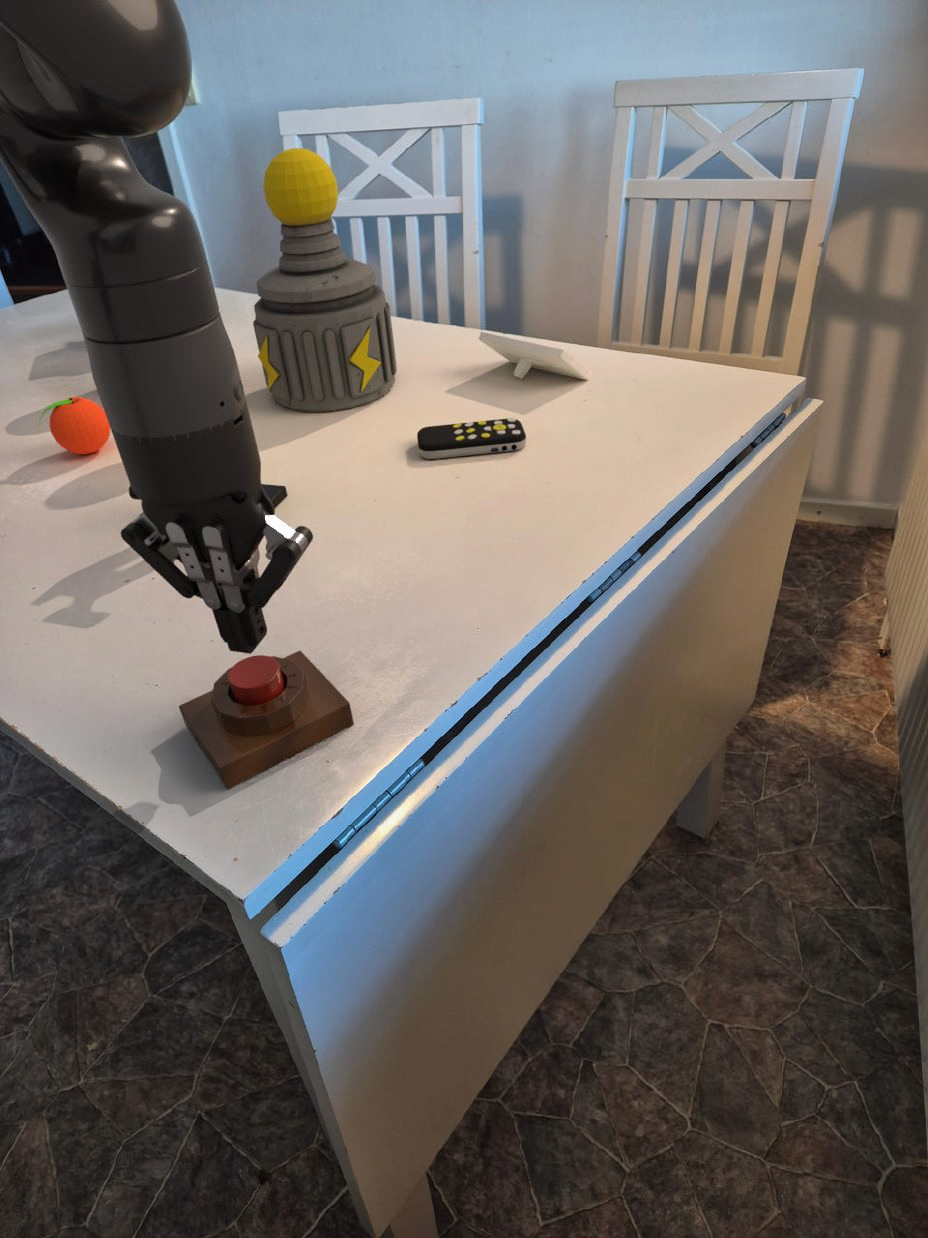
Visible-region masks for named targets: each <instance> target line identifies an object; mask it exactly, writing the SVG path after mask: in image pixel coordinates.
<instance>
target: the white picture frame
mask: <svg viewBox="0 0 928 1238" xmlns="http://www.w3.org/2000/svg"><path fill="white" fill-rule="evenodd" d="M478 340H479V341H480V342H482V343H483V344H484V345H486V346H487V347H489V348H490V349H492V350H493V351H495V353H497V354H498V355H500V356H502V358H505V359H506V360H507V361H508V362H510V363H514V364H517V365H516V367H515V369H514V371H513V375H514V376H515V377H516V378H517V379H520V380H523V379H524V378H525V376H526V375H527V373H528V372H529V370H530V369H531V368H536V369H539V370H543V371H547V372H551V373H556V374H560V375H564V376H568V377H572V378H575V379H580V380H585V381H590V380H591V378H592V376H593V375H592V374H593V373H592V371H590V370H589V369H588V368H587V367H586V366H584V365H583V364H582V363H580V361H578V360H577V359H575V358H574V357H573V356H572V355H570V353H569V352H567V351H565V350H564V349H561V348H558V347H557V348H556V347H552V346H549V345H543V344H538V343H534V342H529V341H524V340H522V339H521V340H520V339H515V338H511V337H506V336H502V335H499V334H498V335H497V334H494V333H493V334H492V333H488V332H484V331H480V333H479V336H478Z"/></svg>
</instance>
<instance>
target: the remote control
mask: <svg viewBox="0 0 928 1238" xmlns="http://www.w3.org/2000/svg"><path fill="white" fill-rule="evenodd" d="M416 435H417V436H416V440H417V446H418V453H419V455H420V456H421V457H422V458H423V459H426V460H437V459H446V458H456V457H467V456H475V455H485V454H487V455H488V454H496V453H504V452H515V451H519V450H522V449H523V448H525V446H526V444H527V435H526V432H525V430H524V427H523V424H522V422H521V421H520V420H518V419H517V418H515V417H508V418H501V419H499V418H498V419H490V420H480V421H469V422H459V423H450V424H440V425H432V426H425V427H422V428H420V429H418V431H417V434H416Z"/></svg>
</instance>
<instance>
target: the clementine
mask: <svg viewBox="0 0 928 1238" xmlns="http://www.w3.org/2000/svg"><path fill="white" fill-rule="evenodd" d="M51 409H52V412H51V414H50V416H49V430H50V433H51V435H52V437H53V438H54V440H55V442H56V443H57V444H58V445H59V446H60V447H61V448H63V449H65V450H66V451H68V452H69V453H73V454H77V455H89V454H92V453H95V452H97V451H100V450H101V449H102V448H103V447H104V446H105V445H106V444H107V442H108V440H109V438H110V435H111V428H110V425H109V422H108V419H107V417H106V414H105V411H104V408H103V407H101V406H100V405H99V404H98V403H96V402H95V401H93V400H91V399H88V398H85V397H81V396H75V397H69V398H65V399H63V400H59V401H57V402H54V403H52V404H50V405H49V406H48V407H47V408H46V409H44V410H43V412H42V413H41V415H40V418H39V420H41V419H42V417H44V415H45V414H46V413H47V412H48V411H50V410H51ZM40 425H41V422H39V423H38V427H39V428H40V427H41V426H40Z"/></svg>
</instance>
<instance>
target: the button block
mask: <svg viewBox="0 0 928 1238" xmlns="http://www.w3.org/2000/svg"><path fill="white" fill-rule="evenodd" d="M269 657H272V658H274V659H275V660H276V661H277V662H278V663H279V666H280V670H281V674H282V677H283V681H284V688H283V691H282V692H281V694H280V695H279V696H278V697H277V698H275V699H273V700H271V701H269V702H266V703H264V704H260V705H251V706H245V705H242V704H240V703H239V702H237V701H236V700H235V698H234V695H233V692H232V689H231V686H230V683H229V680H228V674H229V671H230V669H231V668H232V667H233V666H231V667H229V668H228V669H227V670H226V671H225V672H224V673H223V674H222V675H221V676H220V677H218V679H216V680H215V681H214V683H213V687H212V690H210V691H208V692H206V693H204V694H202V695H199V696H196V697H195V698H193V699H190V700H188V701H186V702H184V703H182V704H179V705H178V709H179V712H180V714H181V717H182V720H183V722H184V725H185V727H186V729H187V730H188V732H189V733H190V735H191V736H192V738H193V739H194V741H195V742H196V744H197V746H198V747H199V749H200V750H201V752H202V754H203V755H204V757H205V758H206V759H207V761H208V762H209V764H210V766H211V767H212V769H213V770H214V771H215V773H216V775H217V776H218V778H219V779H220V781H221V783H222V784H223V785H224V787H225V788H226V790H230V789H232V788H234V787H236V786H238V785H240V784H242V783H243V782H246V781H248V780H250V779H252V778H253V777H256V776H258V775H259V774H261V773H263V772H265V771H268V770H269V769H270V768H273V767H274V766H277V765H278V764H280V763H282V762H284V761H286V760H288V759H290V758H292V757H294V756H296V755H298V754H299V753H301V752H304V751H306V750H307V749H309V748H312V747H313V746H315V745H317V744H319V743H320V742H323V741H325V740H326V739H329V738H330V737H332V736H335V735H336V734H338V733H340V732H342V731H344V730H346V729H348V728H349V727H352V726H353V725H354V723H355V722H354V717H353V713H352V709H351V704H350V702H349V701H348V699H347V698H346V697H345V696H344V695H343V694H342V693H341V692H340V691H339V690H338V689H337V688H336V686H334V685H333V683H332V682H330V680H329V679H328V678H327V677H326V676H325V675H324V674H323V673H322V672H321V670H320V669H318V668H317V666H316V665H314V663H313V662H312V661H311V660H310V658H308V657H307V656H306V655H305V654H304V653H303V651H301V650H297V651H295V652H293V653H291V654H289V655H287V656H285V657H279V656H276V655H275V656H274V655H272V656H270V655H269Z"/></svg>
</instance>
